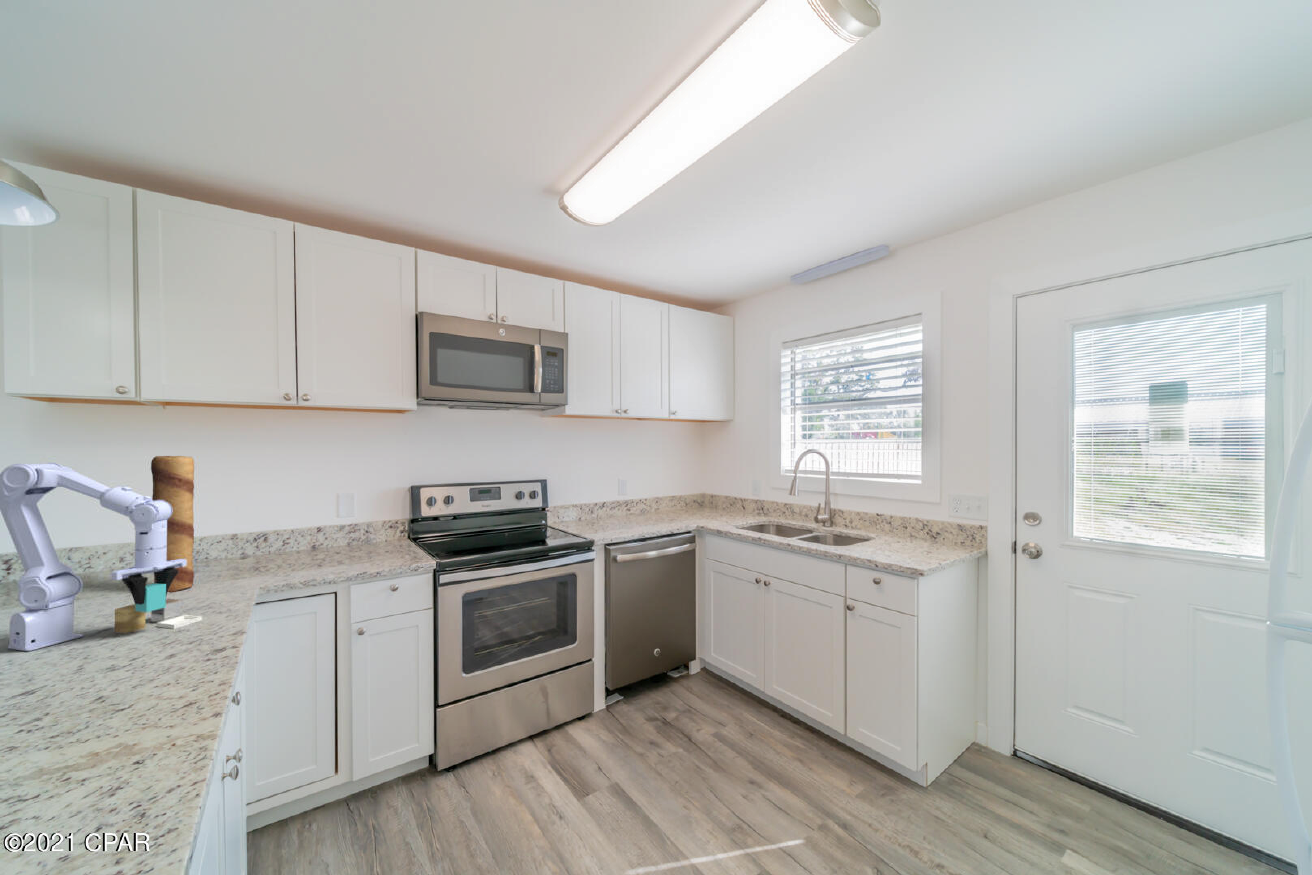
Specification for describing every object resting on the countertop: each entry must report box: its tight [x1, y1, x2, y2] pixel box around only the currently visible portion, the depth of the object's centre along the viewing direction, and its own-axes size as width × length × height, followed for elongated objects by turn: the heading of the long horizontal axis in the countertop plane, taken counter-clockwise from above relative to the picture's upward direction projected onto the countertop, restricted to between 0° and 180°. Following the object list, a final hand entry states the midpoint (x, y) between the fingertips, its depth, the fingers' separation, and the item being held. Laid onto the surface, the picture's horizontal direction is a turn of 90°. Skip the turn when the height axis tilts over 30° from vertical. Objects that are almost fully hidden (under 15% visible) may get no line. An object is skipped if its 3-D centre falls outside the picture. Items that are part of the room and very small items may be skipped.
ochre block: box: [114, 603, 146, 634], centre depth 129 cm, size 4×4×6 cm
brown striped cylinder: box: [150, 455, 195, 593], centre depth 167 cm, size 10×11×45 cm
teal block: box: [134, 582, 167, 613], centre depth 127 cm, size 4×4×6 cm
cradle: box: [156, 614, 203, 630], centre depth 133 cm, size 6×6×1 cm
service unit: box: [150, 598, 183, 623], centre depth 136 cm, size 4×5×5 cm
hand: (150, 601), depth 127 cm, fingers closed on teal block, 4 cm apart
